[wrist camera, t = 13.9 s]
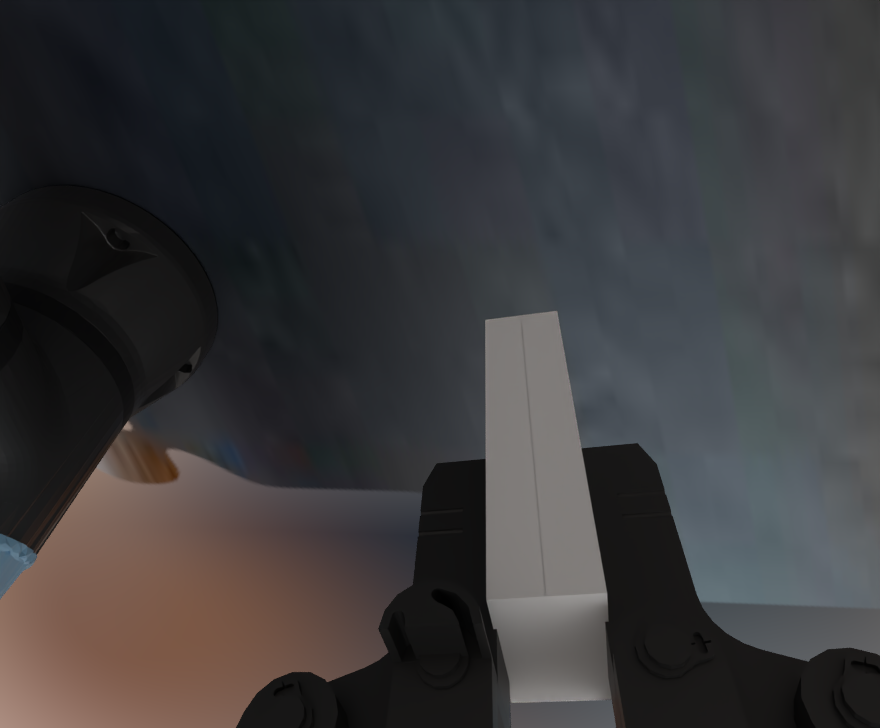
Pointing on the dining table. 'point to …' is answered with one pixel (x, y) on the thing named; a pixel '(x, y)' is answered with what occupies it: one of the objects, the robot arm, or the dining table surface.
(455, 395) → the dining table surface
